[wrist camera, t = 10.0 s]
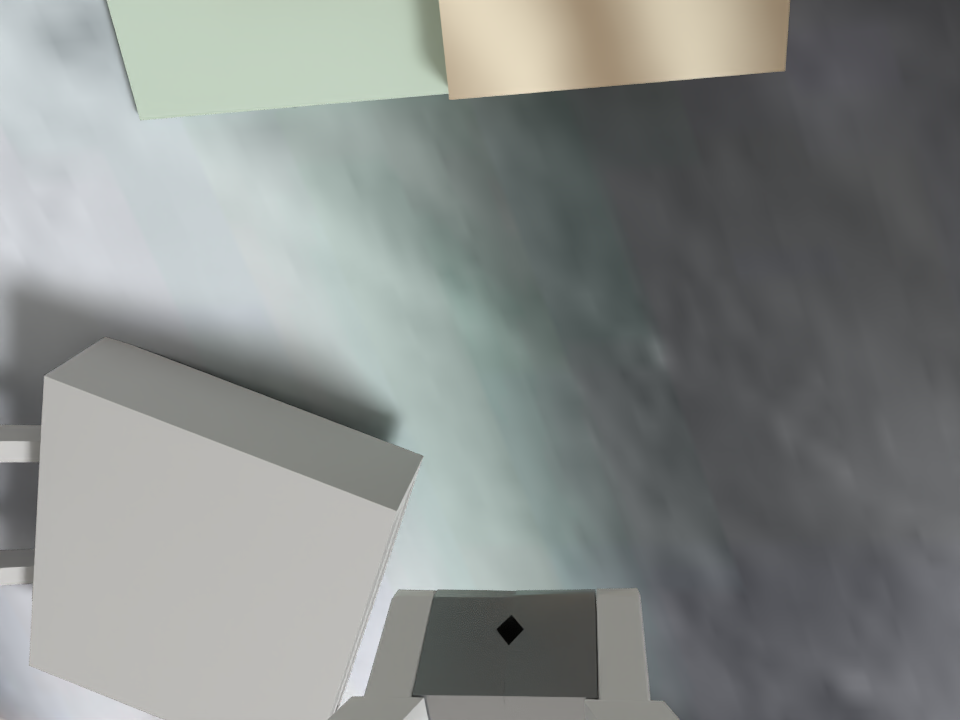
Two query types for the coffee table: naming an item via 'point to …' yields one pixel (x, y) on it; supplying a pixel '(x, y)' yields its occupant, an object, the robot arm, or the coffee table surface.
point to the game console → (200, 539)
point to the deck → (605, 42)
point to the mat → (276, 53)
